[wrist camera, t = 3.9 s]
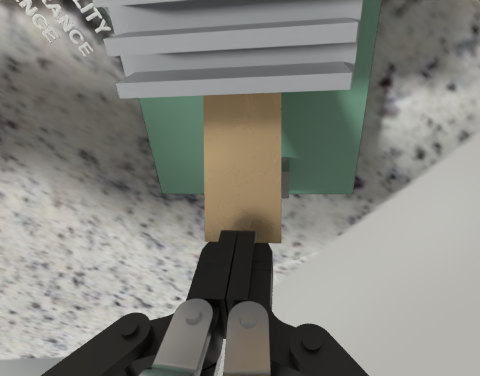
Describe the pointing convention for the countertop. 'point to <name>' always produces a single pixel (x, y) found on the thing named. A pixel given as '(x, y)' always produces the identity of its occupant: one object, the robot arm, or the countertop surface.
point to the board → (249, 79)
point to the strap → (242, 165)
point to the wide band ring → (65, 18)
